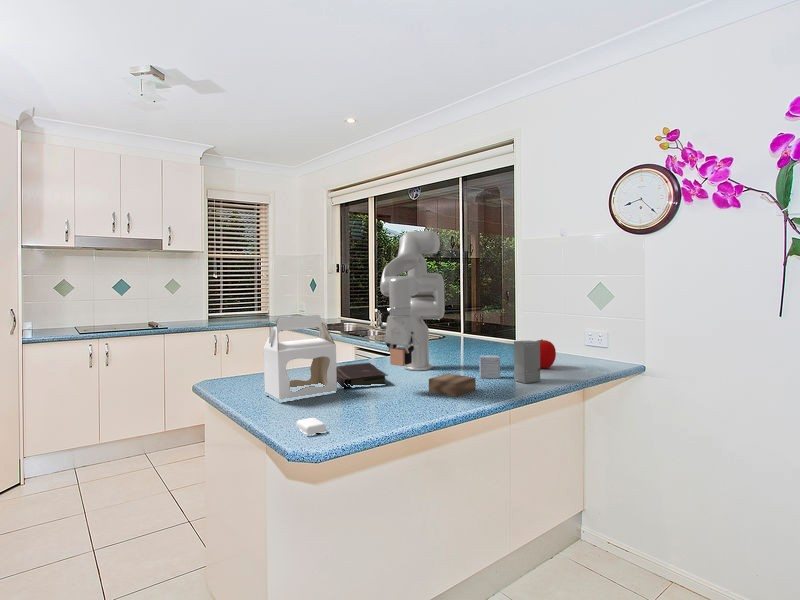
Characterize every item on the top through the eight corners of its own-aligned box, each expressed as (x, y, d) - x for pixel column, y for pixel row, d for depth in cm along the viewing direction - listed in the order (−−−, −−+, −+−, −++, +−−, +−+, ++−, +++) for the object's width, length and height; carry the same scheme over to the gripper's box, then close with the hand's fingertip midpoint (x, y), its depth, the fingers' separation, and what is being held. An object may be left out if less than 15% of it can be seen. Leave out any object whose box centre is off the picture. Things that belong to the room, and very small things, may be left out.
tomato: (559, 370, 207) (559, 341, 206) (533, 370, 207) (533, 341, 206) (551, 365, 218) (551, 337, 218) (527, 365, 218) (527, 337, 218)
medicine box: (498, 376, 197) (498, 355, 197) (500, 378, 193) (500, 357, 192) (479, 376, 198) (479, 355, 197) (480, 378, 193) (480, 357, 193)
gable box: (320, 386, 183) (319, 313, 182) (337, 393, 173) (336, 315, 171) (264, 396, 170) (261, 317, 169) (278, 404, 159) (276, 319, 158)
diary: (342, 392, 178) (342, 378, 177) (328, 378, 201) (328, 366, 201) (390, 386, 184) (390, 373, 184) (371, 373, 207) (371, 362, 207)
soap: (293, 429, 134) (292, 419, 133) (316, 425, 137) (315, 415, 137) (305, 438, 126) (305, 428, 126) (329, 433, 130) (329, 423, 130)
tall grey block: (525, 384, 183) (525, 342, 182) (512, 380, 189) (512, 340, 188) (541, 381, 187) (541, 341, 186) (528, 378, 193) (528, 338, 192)
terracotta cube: (390, 364, 172) (390, 349, 171) (399, 361, 176) (399, 346, 176) (402, 366, 168) (402, 350, 168) (411, 363, 173) (411, 348, 172)
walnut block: (428, 392, 173) (428, 378, 173) (448, 386, 182) (448, 373, 182) (456, 398, 165) (456, 383, 165) (475, 391, 174) (475, 377, 174)
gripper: (374, 312, 173) (375, 361, 174) (414, 314, 163) (414, 367, 164) (387, 310, 179) (388, 358, 180) (426, 312, 169) (426, 363, 170)
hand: (401, 362), depth 172 cm, fingers closed on terracotta cube, 5 cm apart
